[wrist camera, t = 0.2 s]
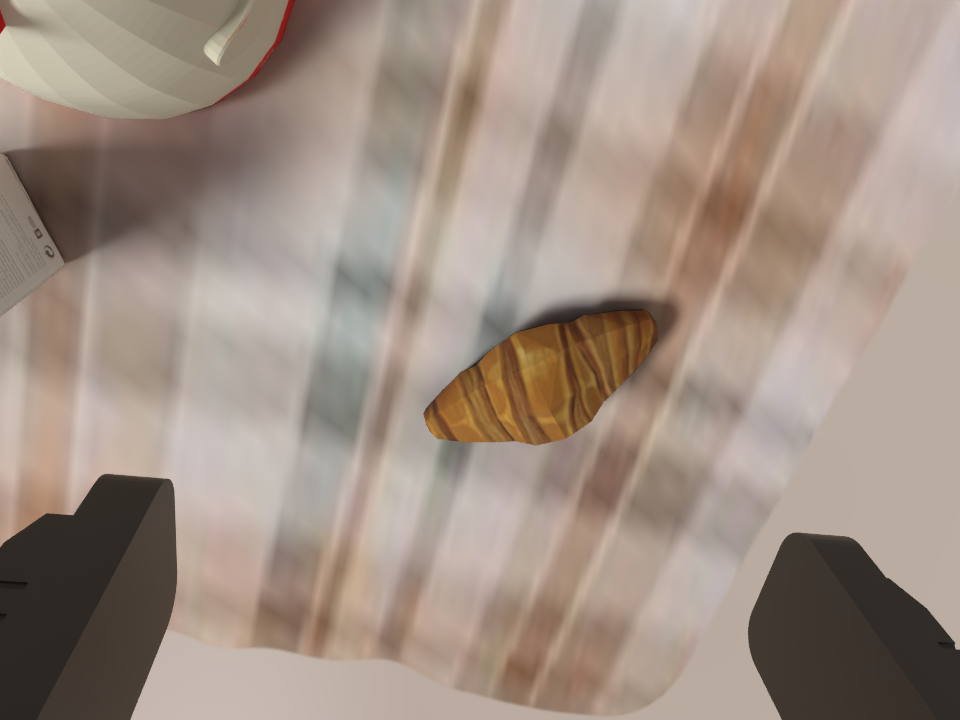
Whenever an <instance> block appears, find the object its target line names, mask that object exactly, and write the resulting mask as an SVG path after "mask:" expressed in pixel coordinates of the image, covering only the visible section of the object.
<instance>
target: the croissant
mask: <svg viewBox="0 0 960 720" xmlns="http://www.w3.org/2000/svg"><path fill="white" fill-rule="evenodd" d="M657 340H658V335H657V327H656V321H655V320H654V319H653V317H652V316H651V315H650V314H649V312H647V311H645V310H643V309H640V310H617V311H610V312H603V313H597V314H589V315H583V316H581V317H579V318H577V319H576V320H574V321H572V322H570V323H557V324H548V325H544V326H540V327H536V328H532V329H528V330H524V331H520V332H516V333H515V334H513V335H512V336H510V337H509V338H508V339H506V340H505V341H503V342H502V343H501V344H499V345H498V346H497V347H495V348H494V349H492V350H491V351H490V352H488V353H487V354H486V355H485V356H484V358H483V359H482V360H481V361H480V362H479V363H478V364H477V365H476V366H474V367H471V368H468V369H466V370H464V371H462V372H460V373H459V374H458V375H457V377H456V378H455V379H454V380H453V381H452V382H451V383H450V384H449V385H448V386H447V387H446V388H445V389H443V390H442V391H441V393H440V394H439V395H438V396H437V397H436V398H435V399H434V400H433V401H432V402H431V404H430V405H429V406H428V407H427V408H426V410H425V412H424V418H425V421H426V425H427V427H428V429H429V431H430V432H431V433H432V434H433V435H434V436H435V437H436V438H437V439H444V440H451V441H458V442H508V441H518V442H522V443H527V444H532V445H540V444H545V443H549V442H554V441H558V440H562V439H566V438H568V437H569V436H571V435H572V434H574V433H575V432H577V431H578V430H579V429H581V428H582V427H584V426H585V425H587V424H588V423H590V422H591V421H592V420H593V418H594V416H595V415H596V413H597V412H598V410H599V408H600V407H601V405H602V403H603V402H604V401H605V400H606V399H607V398H608V397H609V396H610V395H611V394H612V393H613V392H614V391H615V390H616V389H617V388H618V387H619V386H620V385H621V384H622V383H623V382H624V381H625V380H626V379H627V378H628V377H629V375H630V374H631V373H632V372H633V371H634V370H635V369H636V368H637V367H638V366H639V365H640V364H641V363H642V361H643V360H644V358H645V357H646V356H647V354H648V353H649V351H650V350H651V349H652V347H653V346H654V344H655V343H656V341H657Z"/></svg>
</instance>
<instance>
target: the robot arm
mask: <svg viewBox="0 0 960 720" xmlns="http://www.w3.org/2000/svg"><path fill="white" fill-rule="evenodd" d="M176 585H177V556H176V527H175V497H174V487H173V484H172V482H171V480H170V479H162V478H150V477H138V476H126V475H114V474H104V475H102V476H100V477H99V478H98V480H97V481H96V482H95V484H94V485H93V487H92V488H91V490H90V491H89V493H88V494H87V496H86V497H85V499H84V500H83V502H82V503H81V505H80V506H79V508H78V509H77V511H76V512H75V514H74V515H61V514H48V513H47V514H45V515H44V516H42V517H41V518H39V519H38V520H36V521H35V522H33V523H32V524H30V525H29V526H28V527H26V528H25V529H23V530H22V531H20V532H19V533H17V534H16V535H14V536H13V537H11V538H10V539H9V540H7V541H6V542H4V543H3V545H2V546H1V547H0V720H130V719H131V716H132V714H133V711H134V709H135V706H136V704H137V701H138V699H139V696H140V694H141V691H142V689H143V686H144V684H145V682H146V679H147V677H148V674H149V672H150V669H151V667H152V664H153V661H154V659H155V657H156V654H157V652H158V649H159V647H160V644H161V642H162V639H163V636H164V634H165V632H166V629H167V626H168V624H169V620H170V617H171V613H172V609H173V605H174V599H175V593H176ZM748 639H749V647H750V652H751V655H752V659H753V661H754V664H755V666H756V668H757V670H758V672H759V674H760V676H761V678H762V680H763V682H764V684H765V686H766V688H767V690H768V692H769V694H770V696H771V698H772V700H773V702H774V704H775V706H776V708H777V710H778V712H779V714H780V716H781V719H782V720H960V650H956V649H955V646H954V645H955V642H954V641H953V640H952V639H951V638H950V636H949V635H948V634H947V633H946V631H945V630H944V629H943V628H942V627H941V625H940V624H939V623H938V622H937V620H936V619H935V618H934V617H933V616H932V615H931V613H930V612H929V611H928V610H927V608H925V607H924V606H923V605H922V604H920V603H919V602H918V601H917V600H915V599H914V598H913V597H912V596H910V595H909V594H908V593H907V592H905V591H904V590H903V589H902V588H900V587H899V586H898V585H897V584H895V583H894V582H893V581H892V580H890V579H889V578H886V577H885V576H884V575H883V573H882V572H881V571H880V569H879V568H878V567H877V566H876V564H875V563H874V562H873V561H872V559H871V558H870V557H869V556H868V554H867V553H866V552H865V551H864V549H863V548H862V547H861V546H860V545H859V543H858V542H856V541H855V540H854V539H852V538H850V537H845V536H833V535H819V534H808V533H792V534H790V535H788V536H787V537H786V538H785V539H784V541H783V542H782V544H781V546H780V548H779V551H778V553H777V555H776V558H775V560H774V562H773V565H772V567H771V569H770V571H769V574H768V576H767V579H766V581H765V583H764V585H763V588H762V590H761V592H760V595H759V597H758V599H757V602H756V604H755V606H754V608H753V611H752V613H751V616H750V621H749V627H748Z"/></svg>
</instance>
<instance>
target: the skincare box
mask: <svg viewBox="0 0 960 720" xmlns="http://www.w3.org/2000/svg"><path fill="white" fill-rule="evenodd" d="M62 267H64V261H63V259H62V257H61V255H60V253H59V251H58V249H57V248H56V246H55V244H54V242H53V241H52V239H51V238H50V236H49V234H48V232H47V230H46V229H45V227H44V225H43V223H42V221H41V219H40V217H39V215H38V214H37V212H36V210H35V208H34V206H33V204H32V202H31V200H30V198H29V196H28V194H27V192H26V191H25V189H24V187H23V185H22V183H21V182H20V180H19V178H18V176H17V174H16V172H15V171H14V169H13V167H12V165H11V163H10V161H9V160H8V158H7V157H6V156H5V155H3V154H1V153H0V317H1V316H2V315H4V314H5V313H6V312H7V311H9V310H10V309H11V308H12V307H13V306H15V305H16V304H17V303H19V302H20V301H21V300H22V299H24V298H25V297H26V296H27V295H29V294H30V293H31V292H32V291H34V290H35V289H36V288H37V287H39V286H40V285H41V284H42V283H44V282H45V281H46V280H47V279H49V278H50V277H51V276H52V275H54V274H55V273H56V272H57V271H59V270H60V269H61V268H62Z"/></svg>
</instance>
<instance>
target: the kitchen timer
mask: <svg viewBox="0 0 960 720" xmlns="http://www.w3.org/2000/svg"><path fill="white" fill-rule="evenodd" d="M294 1H295V0H0V77H1V78H3V79H5V80H6V81H8V82H10V83H12V84H13V85H15V86H17V87H19V88H20V89H22V90H24V91H26V92H28V93H30V94H33V95H35V96H37V97H40V98H42V99H45V100H47V101H50V102H53V103H56V104H60V105H63V106H67V107H70V108H74V109H77V110H81V111H84V112H88V113H91V114H95V115H98V116H102V117H105V118H112V119H168V118H171V117H175V116H178V115H181V114H185V113H188V112H191V111H194V110H198V109H201V108H204V107H208V106H211V105H213V104H215V103H217V102H219V101H221V100H222V99H224V98H225V97H226V96H228V95H229V94H231V93H232V92H233V91H235V90H236V89H238V88H239V87H240V86H242V85H243V84H245V83H246V82H247V81H249V80H250V79H252V78H253V77H254V76H256V74H257V73H258V72H259V70H260V69H261V67H262V66H263V65H264V63H265V62H266V61H267V59H268V58H269V56H270V55H271V54H272V52H273V51H274V49H275V48H276V47H277V45H278V44H279V43H280V41H281V40H282V37H283V34H284V31H285V28H286V25H287V22H288V19H289V16H290V13H291V10H292V7H293V4H294Z"/></svg>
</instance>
